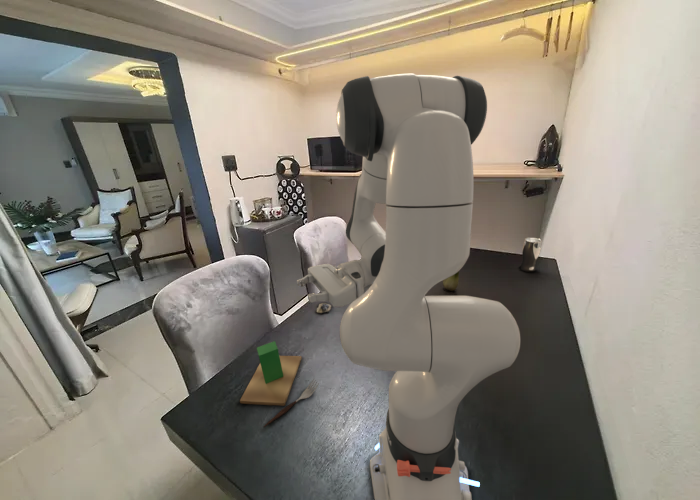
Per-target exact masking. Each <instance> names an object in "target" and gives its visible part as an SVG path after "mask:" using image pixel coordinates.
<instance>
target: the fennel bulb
mask: <svg viewBox="0 0 700 500" xmlns="http://www.w3.org/2000/svg"><path fill="white" fill-rule="evenodd" d="M459 279H460V270H459V271H458V272H457V273H456V274H454V275H452V276H451V277H449V278H447V279H445V280H443V281H442V286H443V288H444V289H445V290H446V291H451V292H453V291H456V290H457V288H458V286H459Z"/></svg>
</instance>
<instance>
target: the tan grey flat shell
mask: <svg viewBox="0 0 700 500" xmlns="http://www.w3.org/2000/svg"><path fill="white" fill-rule="evenodd" d="M332 307H333V305H332V304H330V303H326V302H322V303H319V304H318V307H317V308H316V309H315V313H318V314H322V313H326V312H327V313H329V312H331V309H332Z"/></svg>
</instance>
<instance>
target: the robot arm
mask: <svg viewBox="0 0 700 500" xmlns="http://www.w3.org/2000/svg"><path fill="white" fill-rule="evenodd" d="M335 111H336V112H335V123H336V129H337V132H338V134H339V137H340V139H341V141H342V144H343V147H345V148H346V149H347V151H349V152H350V153H351V154H354V155H356V156H360V157H362V165H361V173H360V174H359V176H358V178H357V179H356V183H355V187H354V194H353V201H352V208H351V214H350V218H349V220H348V221H347V224H346V229H345V236H346V238H347V239H348V240H349V241H350V243H351V244H352V245H353V246H354V247H355V249H356V251H357V252H358V253H359V255H360V258H359V259H353V260H348V261H346V262H342V263H339V264H338V265H337V266H336V265H332V264H331V263H322V264H317V265H312V266H309V267H308V268H307V274H306V275H305V276H303V277H302V278H299V279H297V280H296V285H297V286H298V288H302V287H305V286H306V284H308V283H309V284H311V283H312V284H313V285H314V286H315V287H316V288H317V290H319V292H320V293H315V292H312V293H309V294H308V295H307V300H308V301H309V302H310V304H311V303H312V304H313V303H315V302H329V304H330V305H331V306H332V307H333V308H341V307H346V306H347V307H346V309H345V311H344V313H343V314H342V318H341V319H340V324H339V340H340V345H341V347H342V350H343V352H344V353H345V355H346V357H347V358H348V359H349V361H350V362H351V363H352V364H353V365H357V366H361V367H365V368H368V369H374V370H378V371H382V372H383V371H384V372H394V374H393V376H392V378H391V380H390V382H389V385H388V409H387V413H386V417H385V428H384V429H383V430H382V431H381V432H380V434H379V436H378V443H377V444H376V445H375V446H374V450H375V451H378V452H377V453H375V455H373V456H372V457H371V458H370V460H369V471H370V478H371V484H372V491H373V498H374V500H473V498H472V492H471V491H470V486H474V487H478V488H479V487H480V485H481V484H480V482H479V481H476V480H473V479H469V471H468V468H467V466H466V463H465V461H463V460H460V459H459V444H460V440H459V439H458V438H457V433H456V425H455V420H456V415H457V411H458V408H459V406H460V403H461V402H462V401H463V399H464V398H465V397H466V395H468V394H469V393H470V391H472V389H473V388H475V387H476V386H477V385H478V384H480V383H481V382H482V381H484V380H486V379H487V378H489V377H490V376H492V375H494V374H495V373H498V372H500V371H503V370H505V369H508V368H510V367H512V365H513V364H514V363H515V361H516V359H517V357H518V356H519V354H520V353H519V352H520V349H521V331H520V328H519V325H518V323H517V321H516V319H515V317H514V316H513V313H511V311H510V310H509V309H508V308H507V307H506V306H505V305H504V304H503V303H501V302H500V301H498V300H492V299H489V298H483V297H478V296H471V295H427V293H428V292H429V291H430V290H431V289H432V288H434V286H436V285H437V284H439V283H440V282H443V280H445V279H447V278H449V277H451V276H452V275H454V274H456V273H457V272H458V271H459V272H460V270H462V269H463V267H464V266H465V265H466V263H467V261H468V260H469V257H470V254H471V253H470V252H471V237H472V224H473V223H472V222H473V207H474V204H473V203H474V188H475V187H474V185H475V184H474V183H475V182H474V161H473V160H474V159H473V149H472V145H473V144H474V142H476V140H477V139H478V137H479V136H480V134H481V133H482V130H483V128H484V126H485V122H486V119H487V113H488V100H487V95H486V91H485V89H484V86H483V85H482V83H481V82H480V81H478V80H476V79H473V78H472V77H471V78H470V77H466V76H462V75H454V76H452V77H450V76H444V75H443V76H442V75H433V74H432V75H430V74H415V73H413V72H412V73H398V74H388V75H382V76H377V77H372V78H370V76H368V75H365V76H361V77H357V78H354V79H351V80H348V81H347V82H346V84H345V85H344V87H343V88H342V89H341V91H340V97H339V99H338V102H337V106H336V110H335ZM376 204H380V205H381V204H383V205H384V204H385V229H384V228H383V227H382V225H380V224H379V222H378V220H377V219H376V217H375V215H374V212H375V208H376ZM368 286H369V287H368ZM366 287H368V288H367V289H366V290H365V288H366ZM376 470H377V471H376Z"/></svg>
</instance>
